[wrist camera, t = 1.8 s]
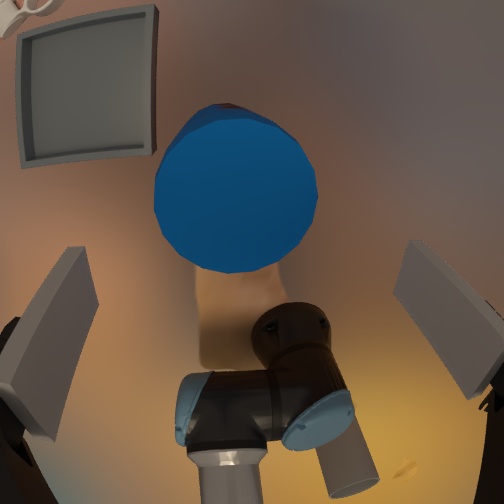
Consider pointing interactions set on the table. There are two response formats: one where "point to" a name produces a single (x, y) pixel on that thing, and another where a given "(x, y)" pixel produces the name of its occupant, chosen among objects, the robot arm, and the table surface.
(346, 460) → the cylinder vase
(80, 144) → the tray
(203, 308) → the table surface
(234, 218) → the thermos
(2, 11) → the white brass knuckles
